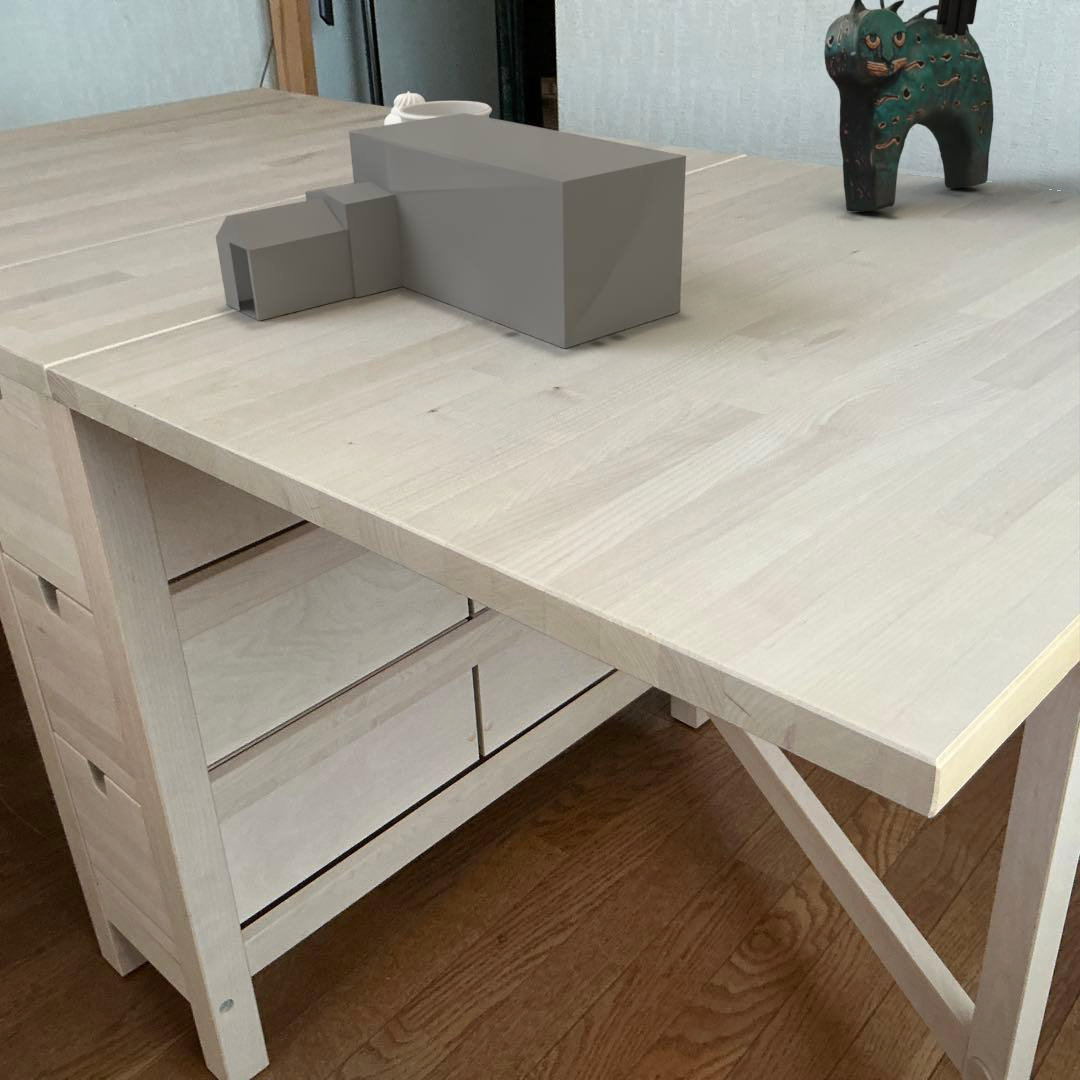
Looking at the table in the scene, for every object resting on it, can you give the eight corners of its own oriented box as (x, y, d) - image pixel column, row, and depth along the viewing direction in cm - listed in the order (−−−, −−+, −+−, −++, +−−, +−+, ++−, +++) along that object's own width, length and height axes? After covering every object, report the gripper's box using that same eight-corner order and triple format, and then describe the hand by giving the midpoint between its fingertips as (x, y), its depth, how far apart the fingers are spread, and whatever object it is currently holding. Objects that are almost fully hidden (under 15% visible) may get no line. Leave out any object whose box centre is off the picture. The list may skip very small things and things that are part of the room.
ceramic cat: (872, 213, 102) (859, -34, 96) (817, 216, 108) (800, -18, 101) (1007, 180, 113) (1003, -46, 106) (950, 184, 118) (943, -31, 111)
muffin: (391, 149, 138) (385, 87, 134) (442, 149, 137) (438, 86, 134) (383, 160, 132) (377, 95, 129) (436, 159, 132) (432, 94, 128)
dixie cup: (462, 237, 102) (455, 118, 98) (388, 226, 106) (378, 112, 101) (513, 216, 109) (509, 103, 104) (441, 206, 112) (434, 98, 108)
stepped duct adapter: (224, 303, 87) (200, 154, 82) (470, 245, 100) (464, 112, 95) (413, 396, 70) (398, 216, 65) (679, 311, 83) (686, 155, 78)
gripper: (1073, -212, 96) (1031, 29, 105) (888, -206, 98) (862, 29, 107) (1098, -218, 89) (1050, 38, 99) (899, -212, 92) (870, 39, 101)
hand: (953, 33), depth 103 cm, fingers closed
